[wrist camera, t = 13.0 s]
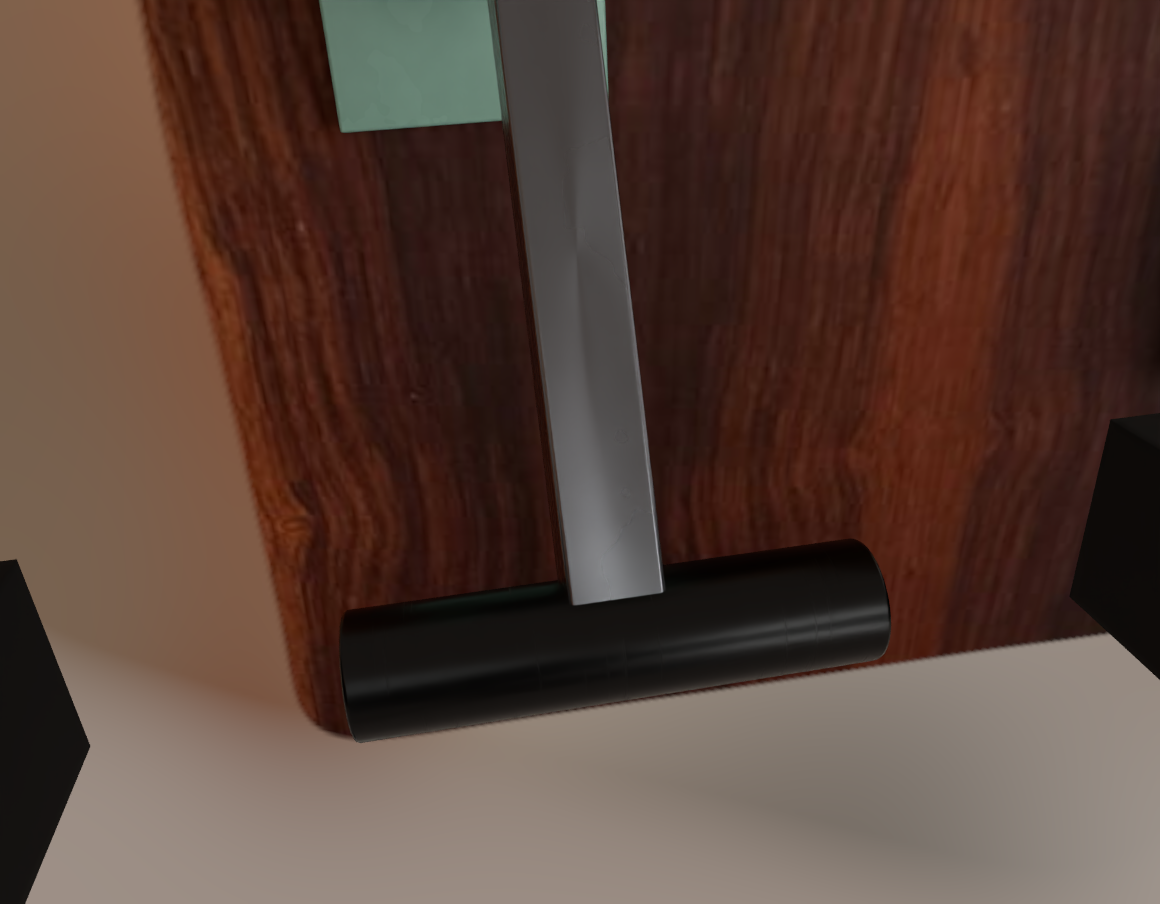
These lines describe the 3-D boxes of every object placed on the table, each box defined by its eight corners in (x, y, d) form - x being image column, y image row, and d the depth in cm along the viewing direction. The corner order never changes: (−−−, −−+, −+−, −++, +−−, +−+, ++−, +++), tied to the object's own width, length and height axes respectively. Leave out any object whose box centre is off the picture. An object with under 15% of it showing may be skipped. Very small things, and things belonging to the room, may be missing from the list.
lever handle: (830, 636, 12) (920, 684, 10) (368, 708, 11) (345, 781, 9) (725, -305, 12) (793, -491, 9) (237, -295, 11) (177, -497, 9)
